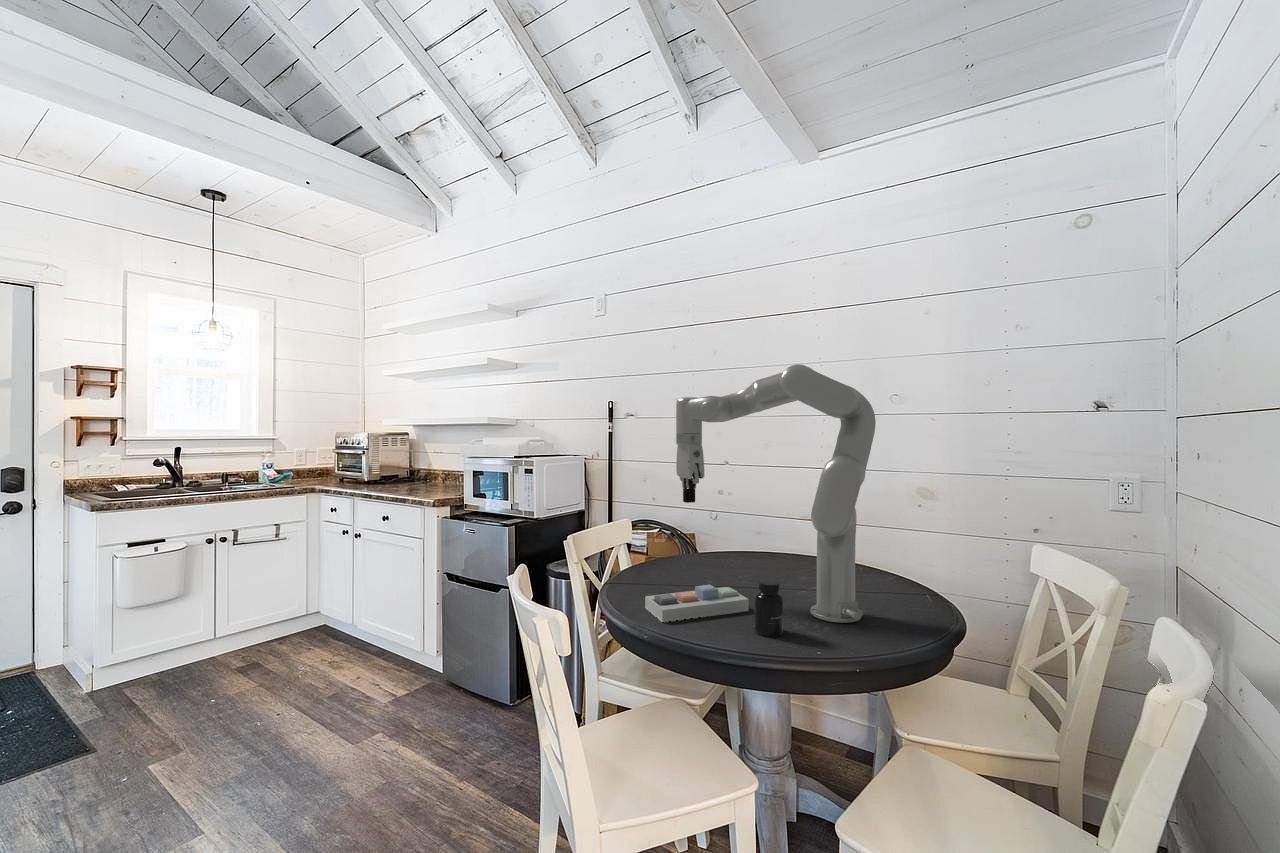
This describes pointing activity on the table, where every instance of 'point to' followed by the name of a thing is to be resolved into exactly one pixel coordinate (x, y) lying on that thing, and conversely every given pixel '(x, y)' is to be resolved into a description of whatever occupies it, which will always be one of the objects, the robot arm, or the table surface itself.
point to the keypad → (696, 607)
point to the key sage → (727, 592)
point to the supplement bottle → (768, 609)
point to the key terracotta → (686, 597)
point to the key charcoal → (665, 599)
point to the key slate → (706, 592)
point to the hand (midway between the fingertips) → (689, 502)
